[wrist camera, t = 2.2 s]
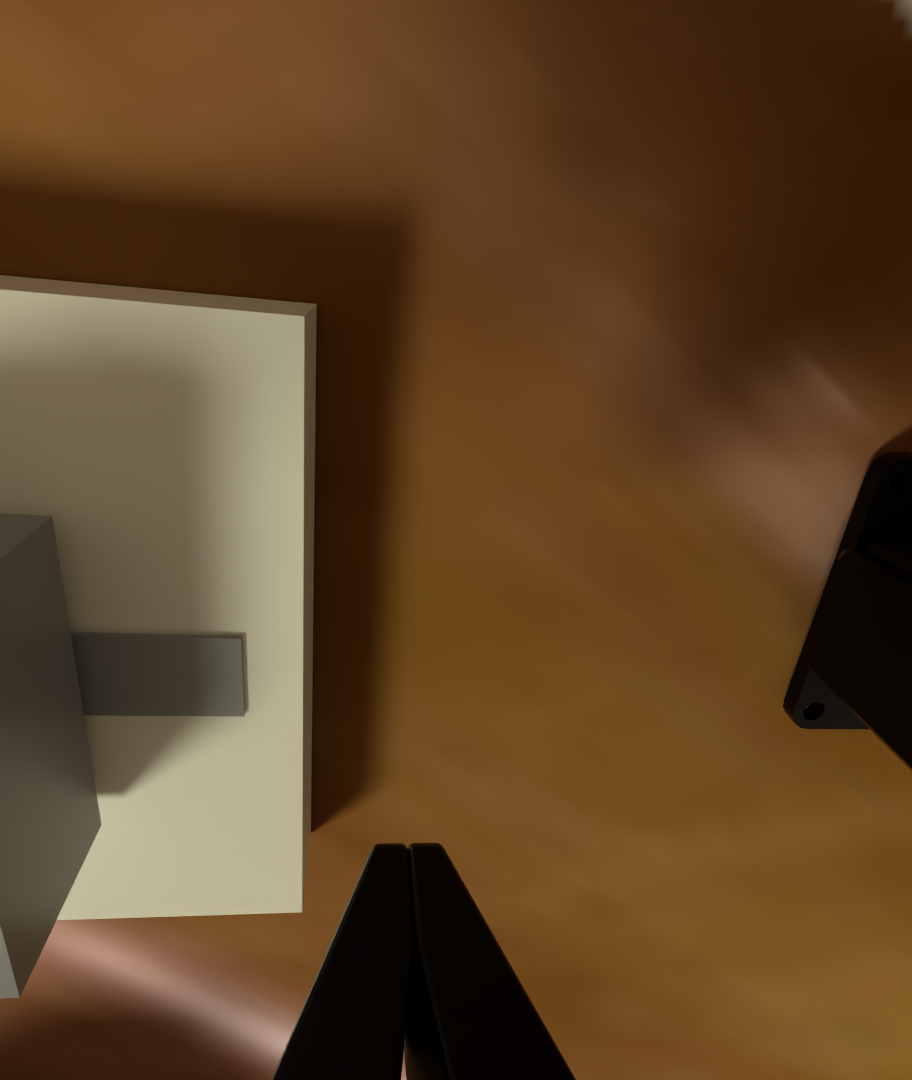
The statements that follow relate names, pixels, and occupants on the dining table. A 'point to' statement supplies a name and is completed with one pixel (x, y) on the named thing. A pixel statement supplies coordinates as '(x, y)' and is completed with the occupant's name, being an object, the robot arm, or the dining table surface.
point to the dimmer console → (176, 577)
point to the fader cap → (38, 749)
